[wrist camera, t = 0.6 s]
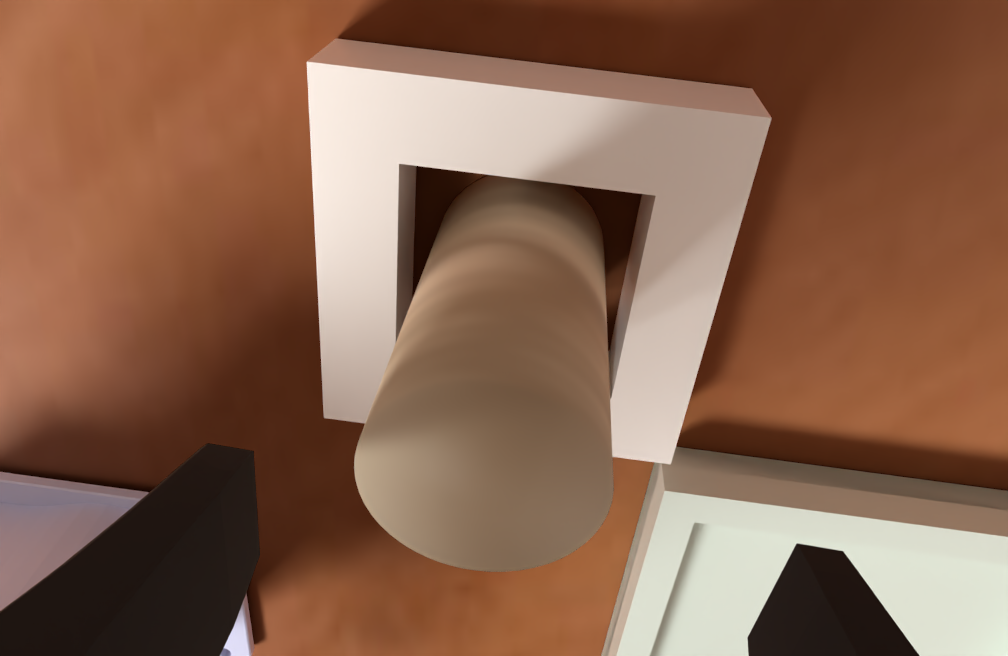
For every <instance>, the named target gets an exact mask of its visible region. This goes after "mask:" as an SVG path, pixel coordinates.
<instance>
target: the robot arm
mask: <svg viewBox="0 0 1008 656" xmlns="http://www.w3.org/2000/svg"><path fill="white" fill-rule="evenodd" d="M259 556H260V548H259V532H258V516H257V499H256V483H255V467H254V451H250V450H244V449H239V448H233V447H227V446H221V445H215V444H209V443H208V444H206V445H205V446H203V447H202V448H200V449H199V450H198V451H197V452H195V453H194V454H193V455H192V456H191V457H190V458H188V459H187V460H186V461H185V462H184V463H183V464H182V465H180V466H179V467H178V468H177V469H176V470H175V471H173V472H172V473H171V474H170V475H169V476H168V477H167V478H165V479H164V480H163V481H162V482H161V483H160V484H159V485H157V486H156V487H155V488H154V489H153V490H152V491H150V492H144V491H136V490H129V489H122V488H115V487H107V486H100V485H93V484H85V483H78V482H71V481H64V480H56V479H49V478H42V477H35V476H27V475H20V474H13V473H5V472H0V656H252V654H253V651H254V642H253V635H252V628H251V621H250V614H249V607H248V600H247V590H248V587H249V584H250V581H251V578H252V576H253V573H254V570H255V567H256V564H257V561H258V559H259ZM747 639H748V653H749V656H919V654H918V653H917V651H916V650H915V649H914V647H913V646H912V645H911V643H910V642H909V641H908V639H907V638H906V636H905V635H904V634H903V632H902V631H901V630H900V628H899V627H898V625H897V624H896V623H895V621H894V620H893V619H892V617H891V616H890V614H889V613H888V612H887V610H886V609H885V608H884V606H883V605H882V603H881V602H880V601H879V599H878V598H877V597H876V595H875V594H874V592H873V591H872V590H871V588H870V587H869V585H868V584H867V583H866V581H865V580H864V579H863V577H862V576H861V574H860V573H859V572H858V570H857V569H856V568H855V566H854V565H853V564H852V562H851V561H850V560H849V558H848V557H847V556H846V554H845V553H844V552H843V551H840V550H834V549H828V548H822V547H816V546H810V545H804V544H798V543H797V544H796V546H795V547H794V549H793V551H792V553H791V555H790V557H789V559H788V561H787V563H786V565H785V567H784V568H783V570H782V572H781V574H780V576H779V578H778V580H777V582H776V584H775V586H774V588H773V590H772V591H771V593H770V595H769V597H768V599H767V601H766V603H765V605H764V607H763V609H762V611H761V613H760V614H759V616H758V618H757V620H756V622H755V624H754V626H753V628H752V630H751V632H750V634H749V635H748V637H747Z"/></svg>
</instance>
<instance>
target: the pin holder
mask: <svg viewBox="0 0 1008 656" xmlns="http://www.w3.org/2000/svg"><path fill="white" fill-rule="evenodd" d="M307 77H308V97H309V118H310V139H311V160H312V181H313V202H314V223H315V244H316V265H317V286H318V307H319V328H320V349H321V370H322V391H323V412H324V418H328V419H335V420H343V421H350V422H358V423H366V420H367V418H368V415H369V412H370V410H371V407H372V404H373V402H374V399H375V396H376V394H377V391H378V389H379V386H380V383H381V381H382V378H383V375H384V373H385V370H386V368H387V365H388V362H389V360H390V357H391V354H392V352H393V349H394V346H395V344H396V341H397V339H398V336H399V333H400V331H401V328H402V325H403V323H404V320H405V318H406V315H407V312H408V310H409V307H410V304H411V302H412V291H413V260H414V229H415V197H416V166H422V167H430V168H438V169H446V170H454V171H462V172H470V173H478V174H486V175H494V176H502V177H510V178H518V179H526V180H534V181H542V182H550V183H558V184H566V185H574V186H582V187H590V188H598V189H606V190H614V191H622V192H630V193H638V194H642V196H641V201H640V206H639V211H638V216H637V220H636V225H635V230H634V235H633V240H632V245H631V249H630V254H629V259H628V264H627V269H626V273H625V278H624V283H623V288H622V293H621V297H620V302H619V307H618V312H617V317H616V321H615V326H614V331H613V336H612V341H611V346H610V350H609V351H608V361H609V385H610V410H611V434H612V457H619V458H626V459H634V460H641V461H649V462H656V463H664V464H671V462H672V458H673V455H674V451H675V448H676V445H677V441H678V438H679V434H680V431H681V427H682V424H683V421H684V417H685V414H686V410H687V407H688V403H689V400H690V397H691V393H692V390H693V386H694V383H695V379H696V376H697V373H698V369H699V366H700V362H701V359H702V355H703V352H704V349H705V345H706V342H707V338H708V335H709V331H710V328H711V325H712V321H713V318H714V314H715V311H716V307H717V304H718V301H719V297H720V294H721V290H722V287H723V283H724V280H725V277H726V273H727V270H728V266H729V263H730V259H731V256H732V253H733V249H734V246H735V242H736V239H737V235H738V232H739V228H740V225H741V222H742V218H743V215H744V211H745V208H746V204H747V201H748V198H749V194H750V191H751V187H752V184H753V180H754V177H755V174H756V170H757V167H758V163H759V160H760V156H761V153H762V150H763V146H764V143H765V139H766V136H767V132H768V129H769V126H770V122H771V119H772V118H771V116H770V115H769V113H768V112H767V110H766V109H765V107H764V106H763V104H762V103H761V101H760V100H759V98H758V97H757V95H756V94H755V92H754V91H753V89H752V88H744V87H735V86H727V85H719V84H710V83H702V82H694V81H686V80H677V79H669V78H661V77H652V76H644V75H636V74H627V73H619V72H611V71H602V70H594V69H586V68H578V67H569V66H561V65H553V64H544V63H536V62H528V61H519V60H511V59H503V58H495V57H486V56H478V55H470V54H461V53H453V52H445V51H436V50H428V49H420V48H411V47H403V46H395V45H387V44H378V43H370V42H362V41H353V40H345V39H337V38H336V39H335V40H334V41H332V42H331V43H330V44H328V45H327V46H326V47H325V48H323V49H322V50H321V51H320V52H318V53H317V54H316V55H315V56H313V57H312V58H311V59H309V60H308V61H307Z"/></svg>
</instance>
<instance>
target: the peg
mask: <svg viewBox="0 0 1008 656" xmlns="http://www.w3.org/2000/svg"><path fill="white" fill-rule="evenodd" d="M354 472H355V480H356V484H357V487H358V491H359V493H360V496H361V498H362V500H363V502H364V504H365V506H366V507H367V509H368V510H369V512H370V514H371V515H372V516H373V517H374V519H375V520H376V521H377V522H378V523H379V525H380V526H381V527H383V528H384V529H385V530H386V531H387V532H388V533H389V534H390V535H391V536H393V537H394V538H395V539H397V540H398V541H399V542H401V543H402V544H403V545H405V546H407V547H408V548H410V549H412V550H413V551H415V552H417V553H419V554H421V555H423V556H426V557H428V558H430V559H433V560H436V561H438V562H441V563H444V564H448V565H451V566H455V567H459V568H464V569H470V570H477V571H488V572H506V571H518V570H524V569H530V568H535V567H538V566H542V565H545V564H549V563H551V562H554V561H556V560H559V559H561V558H563V557H565V556H567V555H569V554H570V553H572V552H574V551H575V550H577V549H578V548H579V547H581V546H582V545H584V544H585V543H586V542H587V541H588V540H589V539H590V538H591V537H592V536H593V535H594V534H595V533H596V532H597V530H598V529H599V528H600V527H601V525H602V524H603V522H604V520H605V518H606V516H607V515H608V512H609V509H610V506H611V503H612V498H613V491H614V484H613V459H612V434H611V410H610V385H609V361H608V336H607V312H606V287H605V263H604V239H603V234H602V229H601V226H600V223H599V220H598V218H597V216H596V214H595V212H594V211H593V209H592V208H591V206H590V205H589V203H588V202H587V201H586V200H585V199H584V198H583V197H582V196H581V195H580V194H579V193H578V192H577V191H576V190H575V189H573V188H572V187H571V186H569V185H566V184H558V183H550V182H542V181H534V180H526V179H518V178H510V177H502V176H494V175H489V176H486V177H483V178H481V179H479V180H477V181H475V182H474V183H472V184H471V185H469V186H468V187H466V188H465V189H464V190H463V191H462V192H461V193H460V194H459V195H458V196H457V197H456V198H455V199H454V200H453V202H452V203H451V205H450V206H449V208H448V209H447V211H446V213H445V216H444V218H443V220H442V223H441V225H440V228H439V231H438V233H437V236H436V239H435V241H434V244H433V246H432V249H431V252H430V254H429V257H428V260H427V262H426V265H425V268H424V270H423V273H422V275H421V278H420V281H419V283H418V286H417V289H416V291H415V294H414V296H413V299H412V302H411V304H410V307H409V310H408V312H407V315H406V318H405V320H404V323H403V325H402V328H401V331H400V333H399V336H398V339H397V341H396V344H395V346H394V349H393V352H392V354H391V357H390V360H389V362H388V365H387V368H386V370H385V373H384V375H383V378H382V381H381V383H380V386H379V389H378V391H377V394H376V396H375V399H374V402H373V404H372V407H371V410H370V412H369V415H368V418H367V420H366V423H365V425H364V428H363V431H362V433H361V436H360V439H359V441H358V444H357V448H356V452H355V460H354Z"/></svg>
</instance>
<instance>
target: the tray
mask: <svg viewBox="0 0 1008 656" xmlns="http://www.w3.org/2000/svg"><path fill="white" fill-rule="evenodd" d="M797 543H798V544H804V545H810V546H816V547H822V548H828V549H834V550H840V551H843V552H844V553H845V554H846V556H847V557H848V558H849V560H850V561H851V562H852V564H853V565H854V566H855V568H856V569H857V570H858V572H859V573H860V574H861V576H862V577H863V579H864V580H865V581H866V583H867V584H868V585H869V587H870V588H871V590H872V591H873V592H874V594H875V595H876V597H877V598H878V599H879V601H880V602H881V603H882V605H883V606H884V608H885V609H886V610H887V612H888V613H889V614H890V616H891V617H892V619H893V620H894V621H895V623H896V624H897V625H898V627H899V628H900V630H901V631H902V632H903V634H904V635H905V636H906V638H907V639H908V641H909V642H910V643H911V645H912V646H913V647H914V649H915V650H916V651H917V653H918V654H919V656H1008V491H1005V490H997V489H990V488H982V487H975V486H967V485H960V484H952V483H945V482H937V481H930V480H922V479H915V478H907V477H900V476H892V475H885V474H877V473H870V472H862V471H855V470H847V469H840V468H832V467H825V466H817V465H810V464H802V463H795V462H787V461H780V460H772V459H765V458H757V457H750V456H742V455H735V454H727V453H720V452H712V451H705V450H697V449H690V448H682V447H676V448H675V451H674V455H673V458H672V462H671V464H664V463H656V462H654V466H653V469H652V473H651V477H650V480H649V484H648V487H647V491H646V495H645V498H644V502H643V506H642V509H641V513H640V517H639V520H638V524H637V527H636V531H635V535H634V538H633V542H632V546H631V549H630V553H629V557H628V560H627V564H626V567H625V571H624V575H623V578H622V582H621V586H620V589H619V593H618V597H617V600H616V604H615V607H614V611H613V615H612V618H611V622H610V626H609V629H608V633H607V637H606V640H605V644H604V647H603V651H602V655H601V656H749V653H748V639H747V637H748V635H749V634H750V632H751V630H752V628H753V626H754V624H755V622H756V620H757V618H758V616H759V614H760V613H761V611H762V609H763V607H764V605H765V603H766V601H767V599H768V597H769V595H770V593H771V591H772V590H773V588H774V586H775V584H776V582H777V580H778V578H779V576H780V574H781V572H782V570H783V568H784V567H785V565H786V563H787V561H788V559H789V557H790V555H791V553H792V551H793V549H794V547H795V546H796V544H797Z"/></svg>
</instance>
